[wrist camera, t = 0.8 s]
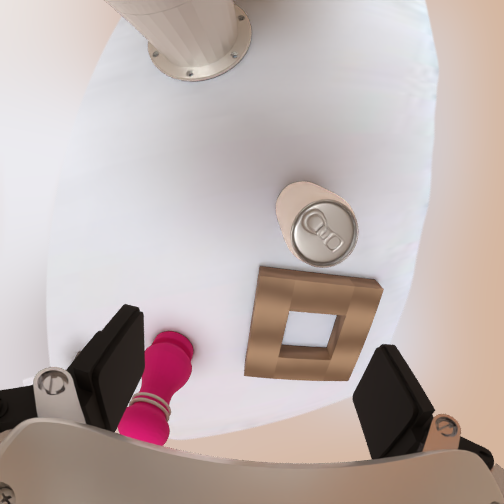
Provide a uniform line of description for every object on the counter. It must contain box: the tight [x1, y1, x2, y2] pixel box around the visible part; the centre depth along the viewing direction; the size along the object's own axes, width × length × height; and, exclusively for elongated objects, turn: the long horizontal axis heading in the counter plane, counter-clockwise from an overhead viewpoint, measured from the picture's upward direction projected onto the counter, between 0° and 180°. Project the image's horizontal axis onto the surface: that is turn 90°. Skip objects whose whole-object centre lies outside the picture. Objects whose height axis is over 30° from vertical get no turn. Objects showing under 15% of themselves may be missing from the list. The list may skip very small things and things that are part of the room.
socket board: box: [244, 266, 384, 381], centre depth 37 cm, size 16×16×3 cm
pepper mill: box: [118, 331, 193, 446], centre depth 31 cm, size 7×7×20 cm
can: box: [276, 181, 358, 268], centre depth 28 cm, size 6×6×12 cm
